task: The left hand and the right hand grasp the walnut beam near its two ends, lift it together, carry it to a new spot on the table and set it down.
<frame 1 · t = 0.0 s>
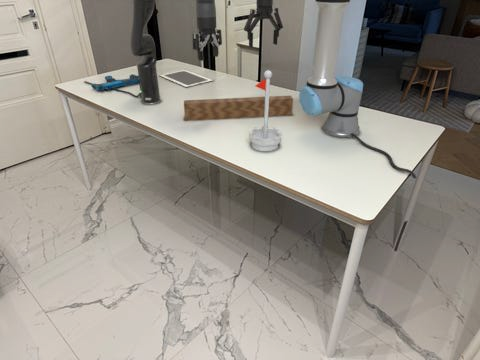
left hand: (208, 58, 140), 29 cm above the table, tool pointing down, fingers open, 8 cm apart
right hand: (263, 45, 167), 28 cm above the table, tool pointing down, fingers open, 13 cm apart
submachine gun: (120, 83, 208), on the table
tablet: (185, 78, 216), on the table
flag stand: (264, 145, 138), on the table
beam: (238, 116, 164), on the table
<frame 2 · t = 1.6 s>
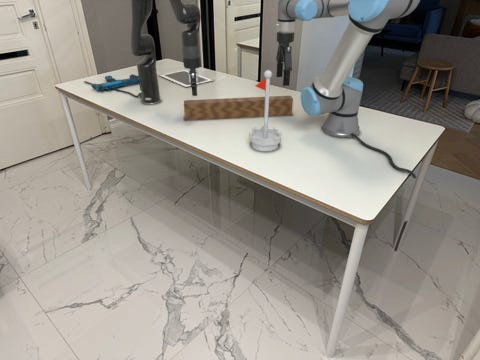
left hand: (194, 92, 155), 13 cm above the table, tool pointing down, fingers open, 8 cm apart
right hand: (282, 81, 157), 16 cm above the table, tool pointing down, fingers open, 13 cm apart
nothing on the table moved.
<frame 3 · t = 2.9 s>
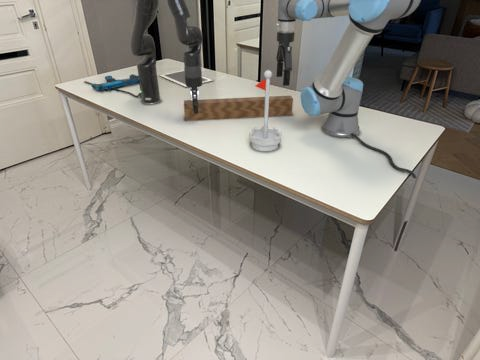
left hand: (196, 111, 160), 4 cm above the table, tool pointing down, fingers closed on beam, 4 cm apart
right hand: (282, 80, 157), 16 cm above the table, tool pointing down, fingers open, 13 cm apart
beam: (238, 116, 164), on the table, touching left hand
everything else where it was.
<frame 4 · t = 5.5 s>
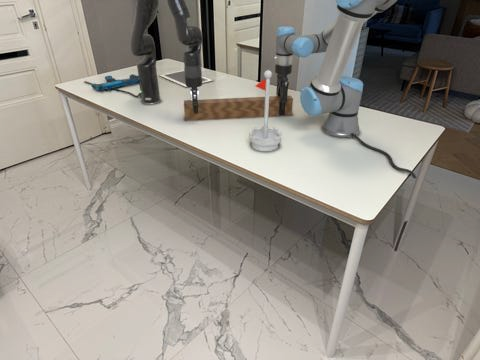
left hand: (196, 111, 160), 4 cm above the table, tool pointing down, fingers closed on beam, 4 cm apart
right hand: (280, 112, 166), 1 cm above the table, tool pointing down, fingers closed on beam, 5 cm apart
beam: (238, 116, 164), on the table, touching right hand, left hand
everything else where it was.
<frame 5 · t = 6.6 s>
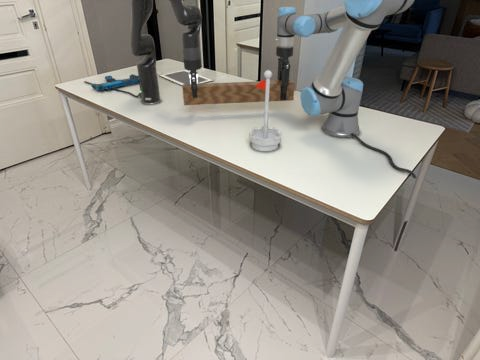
left hand: (195, 95, 156), 11 cm above the table, tool pointing down, fingers closed on beam, 4 cm apart
right hand: (281, 97, 161), 8 cm above the table, tool pointing down, fingers closed on beam, 5 cm apart
beam: (239, 101, 160), point 8 cm above the table, touching right hand, left hand
everything else where it was.
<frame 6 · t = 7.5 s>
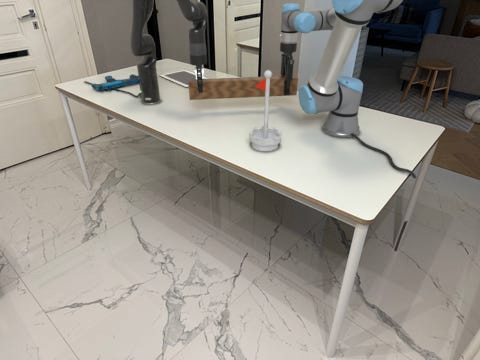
left hand: (200, 90, 159), 12 cm above the table, tool pointing down, fingers closed on beam, 4 cm apart
right hand: (285, 92, 165), 9 cm above the table, tool pointing down, fingers closed on beam, 5 cm apart
beam: (243, 96, 163), point 8 cm above the table, touching right hand, left hand
everything else where it was.
when the right hand's fingers open (2 cm above the table, at t = 9.9 s): beam drops 1 cm, on the table.
when the left hand's fingers open (5 cm above the table, at t = 10.1 s): beam stays where it is, on the table.
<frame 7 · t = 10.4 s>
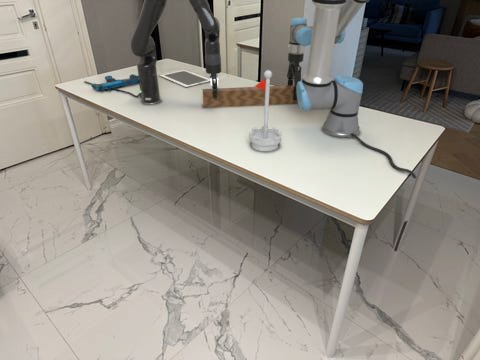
left hand: (214, 95, 173), 5 cm above the table, tool pointing down, fingers open, 7 cm apart
right hand: (292, 95, 178), 3 cm above the table, tool pointing down, fingers open, 11 cm apart
beam: (252, 103, 178), on the table
everything else where it was.
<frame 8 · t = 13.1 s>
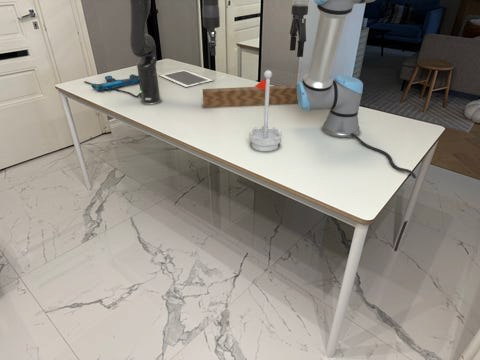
left hand: (212, 53, 161), 26 cm above the table, tool pointing down, fingers open, 8 cm apart
right hand: (296, 53, 166), 25 cm above the table, tool pointing down, fingers open, 13 cm apart
nothing on the table moved.
at the end: beam inside the target area (0.7 cm from its centre), on the table; beam tilted 0°; beam never tilted more than 2° during the clip; both hands held the beam at the same time; the left hand is holding nothing; the right hand is holding nothing; beam at rest at the end (0.0 cm/s) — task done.
